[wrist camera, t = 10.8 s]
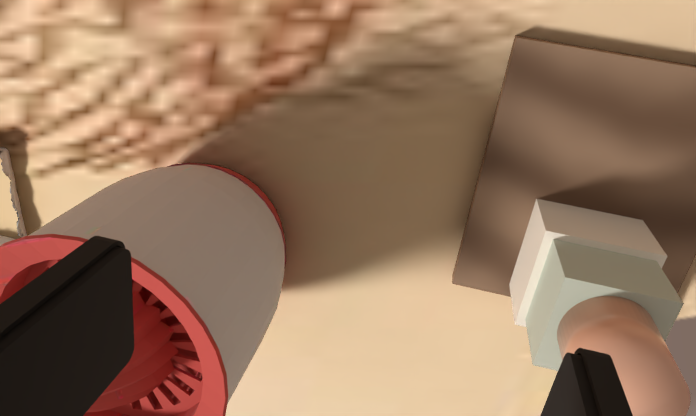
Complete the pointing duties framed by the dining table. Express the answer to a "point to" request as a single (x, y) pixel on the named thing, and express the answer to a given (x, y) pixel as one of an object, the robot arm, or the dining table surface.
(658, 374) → the pink domed cylinder
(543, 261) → the cream block
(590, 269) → the sage block
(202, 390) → the citrus juicer
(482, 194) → the serving board
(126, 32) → the dining table surface
